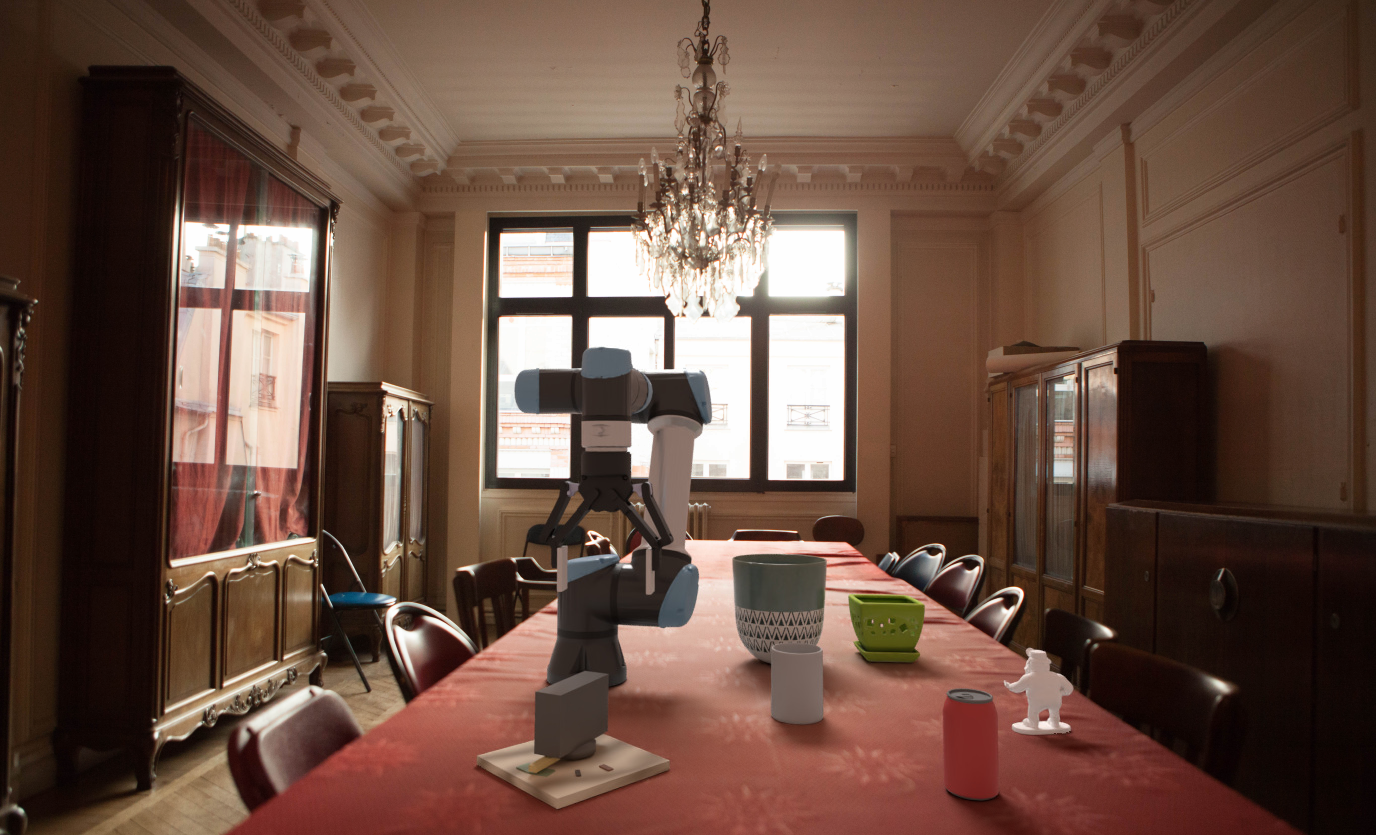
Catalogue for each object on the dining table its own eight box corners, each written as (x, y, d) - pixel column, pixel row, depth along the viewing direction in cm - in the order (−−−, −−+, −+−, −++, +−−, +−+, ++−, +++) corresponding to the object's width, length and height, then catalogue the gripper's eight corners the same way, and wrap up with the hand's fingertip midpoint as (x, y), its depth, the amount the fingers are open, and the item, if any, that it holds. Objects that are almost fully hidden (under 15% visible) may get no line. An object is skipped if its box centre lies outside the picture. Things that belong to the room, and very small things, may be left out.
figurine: (1054, 721, 127) (1052, 645, 127) (1079, 734, 120) (1077, 655, 121) (1001, 723, 125) (1000, 647, 126) (1024, 737, 119) (1022, 656, 120)
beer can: (935, 781, 101) (934, 687, 102) (984, 780, 102) (982, 686, 103) (956, 803, 95) (955, 702, 96) (1009, 802, 95) (1007, 701, 96)
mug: (828, 724, 124) (827, 654, 125) (774, 724, 124) (774, 654, 125) (814, 702, 136) (814, 638, 137) (765, 702, 136) (765, 637, 137)
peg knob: (577, 734, 114) (578, 669, 115) (614, 741, 111) (615, 675, 112) (512, 769, 101) (513, 696, 101) (553, 778, 98) (554, 702, 98)
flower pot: (927, 666, 162) (926, 603, 163) (859, 665, 162) (859, 603, 163) (909, 650, 176) (908, 593, 177) (846, 650, 176) (846, 592, 177)
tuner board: (476, 764, 106) (476, 754, 106) (584, 734, 119) (584, 724, 119) (557, 809, 92) (557, 797, 92) (669, 769, 105) (669, 758, 105)
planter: (765, 678, 151) (765, 566, 153) (714, 656, 169) (715, 556, 170) (846, 667, 160) (846, 561, 162) (791, 647, 178) (790, 552, 179)
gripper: (518, 449, 116) (517, 593, 116) (684, 450, 113) (683, 599, 112) (535, 449, 124) (534, 584, 123) (691, 449, 120) (691, 589, 119)
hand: (605, 591), depth 118 cm, fingers open, 13 cm apart
